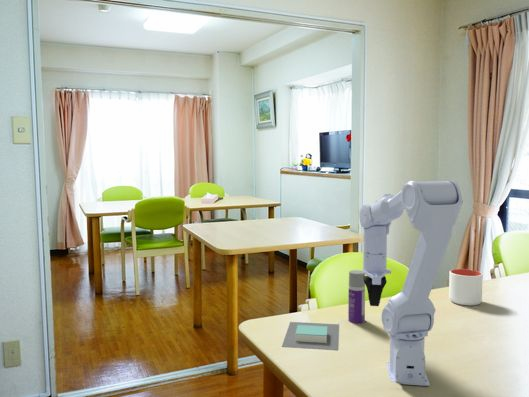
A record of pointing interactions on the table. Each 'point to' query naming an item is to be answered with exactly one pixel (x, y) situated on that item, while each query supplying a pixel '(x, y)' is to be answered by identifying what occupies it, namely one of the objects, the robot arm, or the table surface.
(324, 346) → the mat
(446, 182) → the robot arm
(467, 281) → the cup
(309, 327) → the tile
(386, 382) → the table surface
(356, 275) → the container
